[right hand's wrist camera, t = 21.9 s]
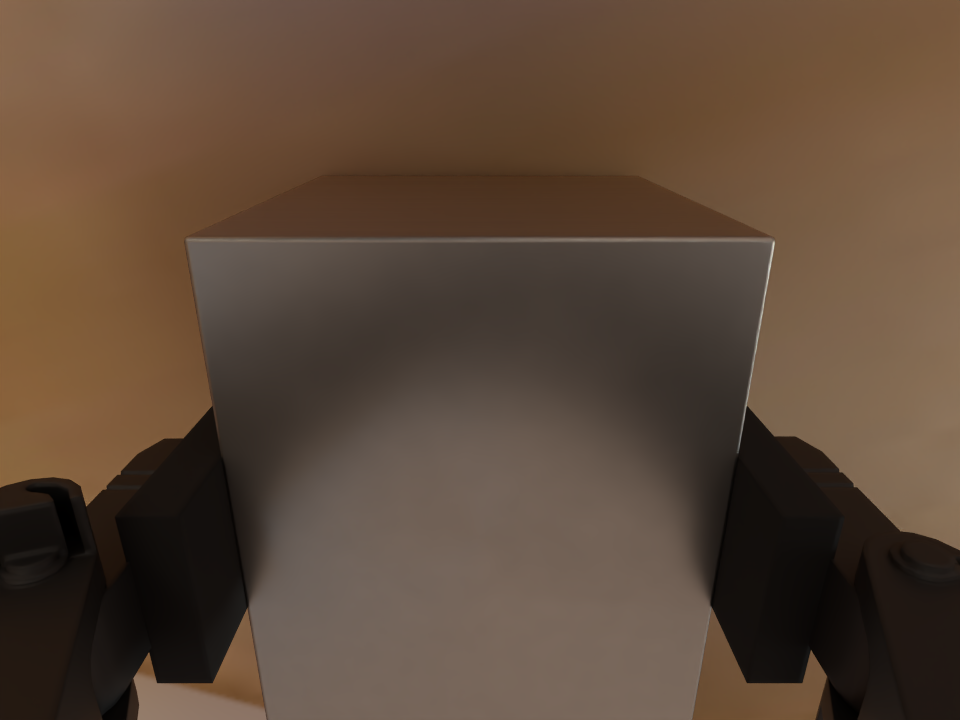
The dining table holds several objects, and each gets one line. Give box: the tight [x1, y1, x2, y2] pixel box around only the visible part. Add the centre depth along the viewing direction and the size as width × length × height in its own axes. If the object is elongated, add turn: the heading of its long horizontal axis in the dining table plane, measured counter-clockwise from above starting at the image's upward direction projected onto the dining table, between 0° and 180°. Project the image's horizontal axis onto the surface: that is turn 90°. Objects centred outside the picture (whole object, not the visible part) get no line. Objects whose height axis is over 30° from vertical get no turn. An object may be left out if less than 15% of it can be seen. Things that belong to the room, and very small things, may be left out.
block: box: [184, 176, 775, 720], centre depth 13 cm, size 7×9×7 cm
